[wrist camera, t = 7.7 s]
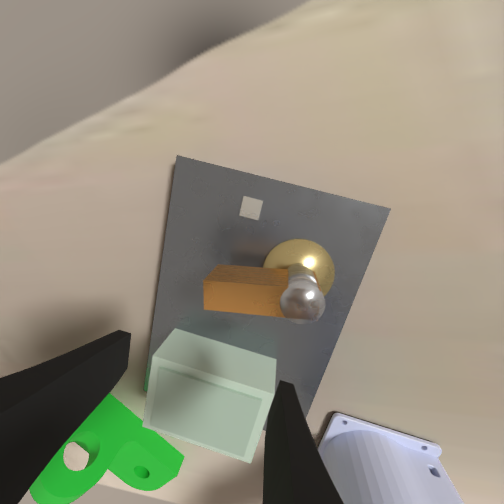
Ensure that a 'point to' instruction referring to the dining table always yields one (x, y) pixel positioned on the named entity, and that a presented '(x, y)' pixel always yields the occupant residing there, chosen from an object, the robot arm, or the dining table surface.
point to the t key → (265, 292)
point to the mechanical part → (109, 456)
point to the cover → (209, 394)
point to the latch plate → (261, 263)
